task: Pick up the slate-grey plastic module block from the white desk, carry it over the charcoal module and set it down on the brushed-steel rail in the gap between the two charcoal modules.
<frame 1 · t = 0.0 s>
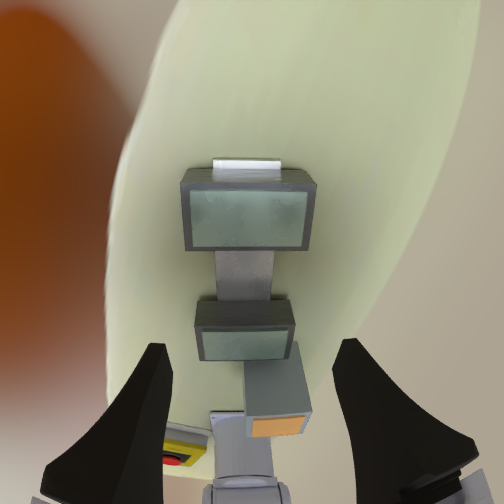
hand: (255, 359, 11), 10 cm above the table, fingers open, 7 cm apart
module block: (268, 357, 27), on the table
emergency button: (172, 436, 38), on the table
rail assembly: (244, 262, 21), on the table
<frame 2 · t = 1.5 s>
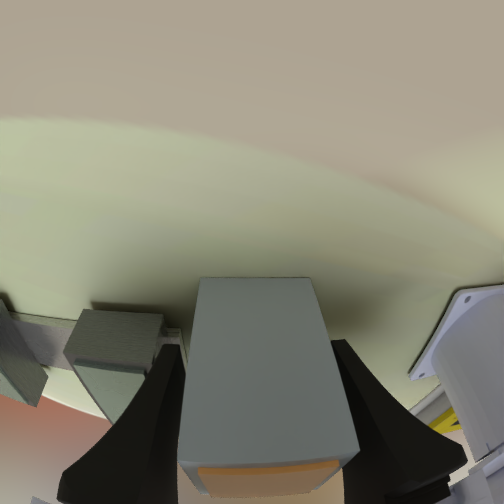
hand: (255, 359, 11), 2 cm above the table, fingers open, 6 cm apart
module block: (253, 321, 13), on the table
emergency button: (462, 386, 22), on the table
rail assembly: (64, 342, 14), on the table
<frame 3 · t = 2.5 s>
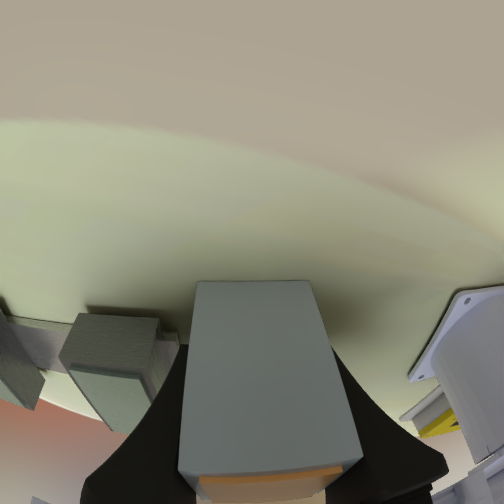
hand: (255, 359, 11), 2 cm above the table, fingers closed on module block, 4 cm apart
module block: (251, 325, 13), on the table, touching gripper
emergency button: (461, 387, 22), on the table
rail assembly: (61, 346, 14), on the table
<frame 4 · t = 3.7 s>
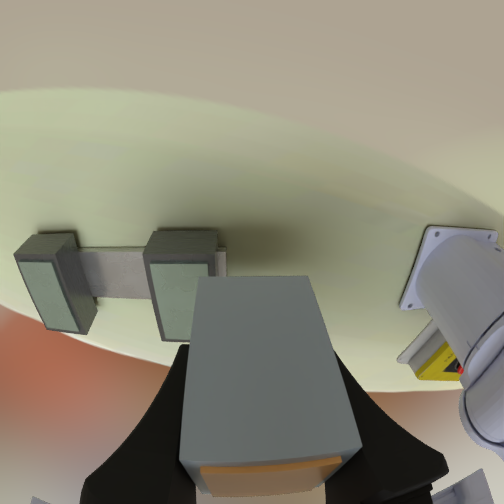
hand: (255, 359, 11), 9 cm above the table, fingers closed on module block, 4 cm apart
module block: (251, 320, 13), point 7 cm above the table, touching gripper
emergency button: (451, 336, 28), on the table
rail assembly: (123, 271, 20), on the table
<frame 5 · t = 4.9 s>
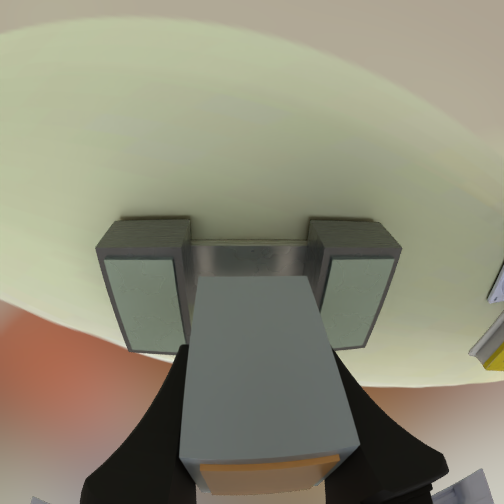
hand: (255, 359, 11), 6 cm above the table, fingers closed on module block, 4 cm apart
module block: (251, 319, 13), point 4 cm above the table, touching gripper
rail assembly: (248, 271, 17), on the table
when the fingers open (4 cm above the table, at t = 5.7 s): module block drops 1 cm, resting on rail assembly.
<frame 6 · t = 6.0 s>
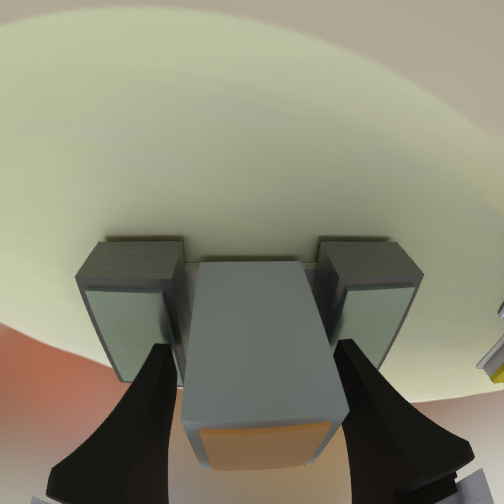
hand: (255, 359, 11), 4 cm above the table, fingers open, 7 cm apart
module block: (249, 304, 14), point 1 cm above the table, touching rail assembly
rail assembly: (249, 295, 15), on the table
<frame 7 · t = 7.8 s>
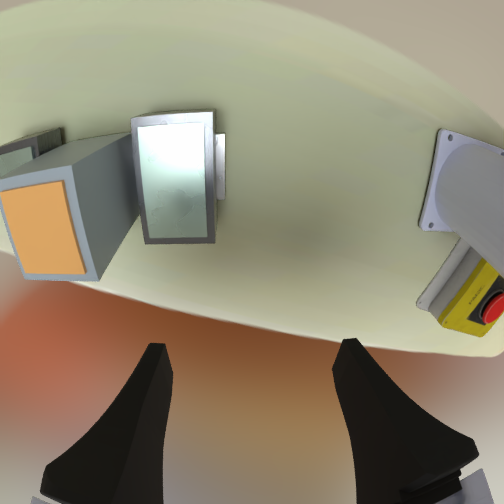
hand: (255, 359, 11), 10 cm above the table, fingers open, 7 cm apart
module block: (104, 175, 16), point 1 cm above the table, touching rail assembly
emergency button: (471, 282, 25), on the table
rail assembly: (108, 171, 16), on the table
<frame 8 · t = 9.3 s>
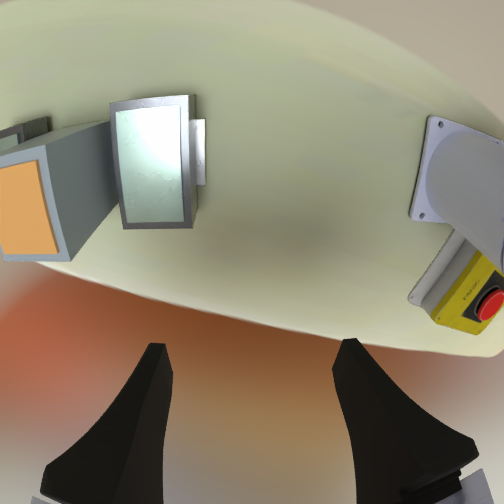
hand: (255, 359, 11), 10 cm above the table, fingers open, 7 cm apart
module block: (88, 162, 16), point 1 cm above the table, touching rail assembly
emergency button: (466, 277, 24), on the table
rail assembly: (92, 159, 16), on the table
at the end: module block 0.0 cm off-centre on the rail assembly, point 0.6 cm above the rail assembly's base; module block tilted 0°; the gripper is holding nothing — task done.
